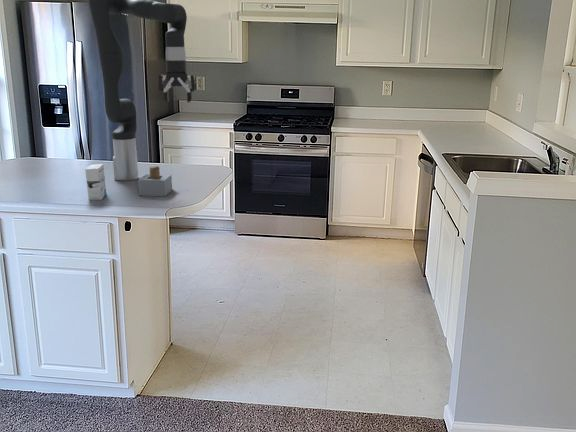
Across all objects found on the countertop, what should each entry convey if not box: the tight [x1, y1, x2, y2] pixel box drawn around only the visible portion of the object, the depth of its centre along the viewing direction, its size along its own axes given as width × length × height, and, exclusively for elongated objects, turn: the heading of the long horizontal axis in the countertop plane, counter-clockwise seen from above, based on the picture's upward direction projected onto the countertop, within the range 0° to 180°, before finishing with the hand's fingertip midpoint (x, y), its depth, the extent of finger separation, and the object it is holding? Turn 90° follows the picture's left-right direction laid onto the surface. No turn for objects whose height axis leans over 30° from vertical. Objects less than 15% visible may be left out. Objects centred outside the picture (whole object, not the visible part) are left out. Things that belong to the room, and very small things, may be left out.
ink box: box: [85, 163, 107, 201], centre depth 210 cm, size 8×5×12 cm, turn 5°
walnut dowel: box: [149, 165, 161, 179], centre depth 217 cm, size 4×4×10 cm
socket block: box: [137, 173, 173, 197], centre depth 217 cm, size 10×10×6 cm
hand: (178, 102), depth 221 cm, fingers open, 8 cm apart
